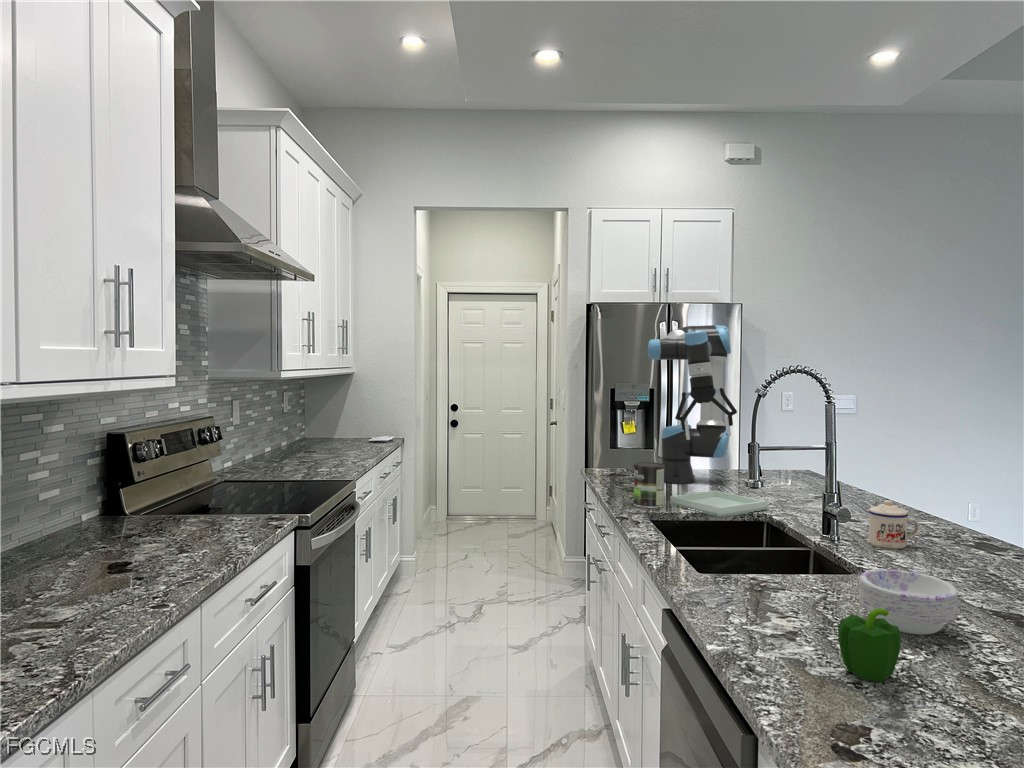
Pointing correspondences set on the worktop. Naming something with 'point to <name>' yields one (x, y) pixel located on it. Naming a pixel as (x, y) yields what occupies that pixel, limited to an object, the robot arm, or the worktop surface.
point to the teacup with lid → (889, 526)
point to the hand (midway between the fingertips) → (708, 437)
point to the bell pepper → (869, 645)
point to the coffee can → (648, 485)
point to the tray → (719, 503)
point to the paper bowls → (909, 599)
